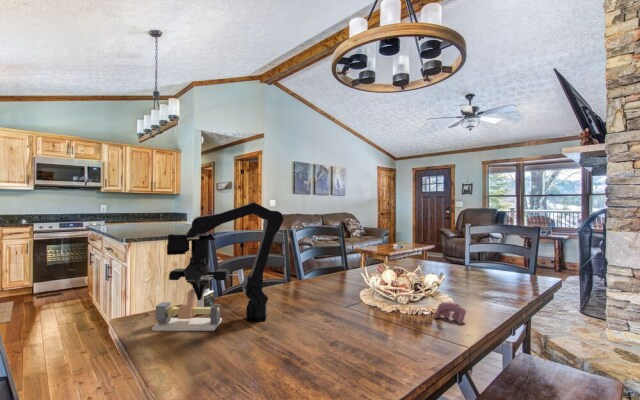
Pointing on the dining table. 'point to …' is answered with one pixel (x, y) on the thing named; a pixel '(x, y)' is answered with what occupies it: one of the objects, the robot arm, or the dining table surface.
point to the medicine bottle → (206, 298)
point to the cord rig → (194, 324)
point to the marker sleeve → (188, 306)
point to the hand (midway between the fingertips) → (199, 299)
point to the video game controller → (449, 306)
